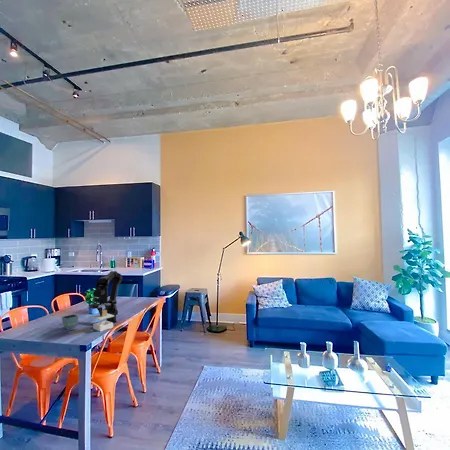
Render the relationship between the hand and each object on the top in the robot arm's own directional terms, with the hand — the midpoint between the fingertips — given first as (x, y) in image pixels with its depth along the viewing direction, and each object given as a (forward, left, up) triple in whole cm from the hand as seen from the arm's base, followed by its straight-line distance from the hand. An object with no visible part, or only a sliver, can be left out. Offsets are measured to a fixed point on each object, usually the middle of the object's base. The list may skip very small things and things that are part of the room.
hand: (103, 315), depth 205 cm
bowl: (0, 0, -10) cm, 10 cm away
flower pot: (+14, -22, -10) cm, 28 cm away
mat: (+13, -7, -10) cm, 18 cm away
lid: (0, 0, -1) cm, 1 cm away
